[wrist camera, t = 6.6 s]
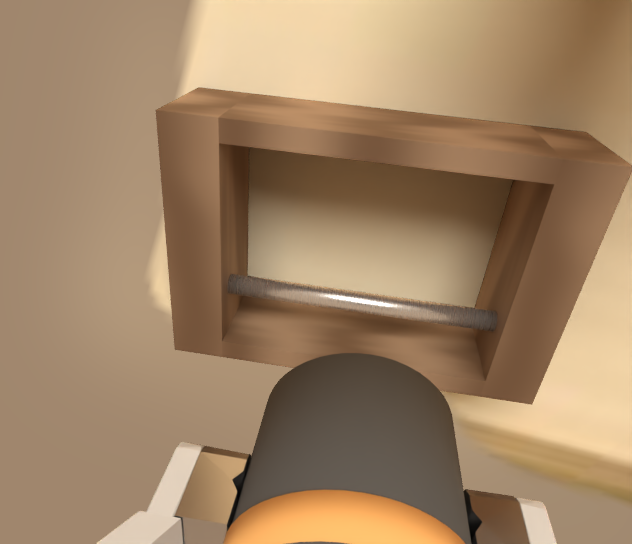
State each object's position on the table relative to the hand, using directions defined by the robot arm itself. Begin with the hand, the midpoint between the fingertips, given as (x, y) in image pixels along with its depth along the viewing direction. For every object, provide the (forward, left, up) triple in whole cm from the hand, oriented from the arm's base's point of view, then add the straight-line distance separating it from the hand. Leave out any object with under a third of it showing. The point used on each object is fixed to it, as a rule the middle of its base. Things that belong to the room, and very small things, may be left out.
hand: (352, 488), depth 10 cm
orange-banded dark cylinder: (0, 0, -2) cm, 2 cm away
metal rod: (0, +4, -14) cm, 15 cm away
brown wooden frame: (0, +2, -17) cm, 17 cm away
